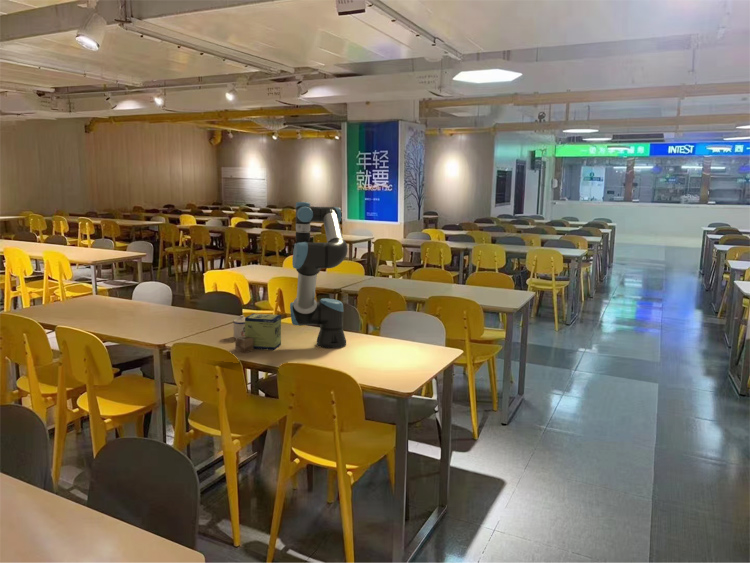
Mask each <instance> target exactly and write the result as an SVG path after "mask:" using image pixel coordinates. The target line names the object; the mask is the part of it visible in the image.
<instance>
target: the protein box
mask: <svg viewBox="0 0 750 563" xmlns="http://www.w3.org/2000/svg"><path fill="white" fill-rule="evenodd" d="M245 337H250V338H253V350H255V349H256V350H264V349H268V351H276V350H277V349H278V348H279V347H280V346H281V345H282V315H281V314H266V313H251V314H250V315H248V316H246V317H245Z"/></svg>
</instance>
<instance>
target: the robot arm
mask: <svg viewBox="0 0 750 563" xmlns="http://www.w3.org/2000/svg"><path fill="white" fill-rule="evenodd" d="M341 221H342V209H341V207H339V206H338V207H337V206H311V203H310V202H307V201H305V202H304V201H297V202H296V203H295V231H296V232H295V243H294V244H292V245H291V247H292V250H293V251H292V267H293V269H295V270H296V272H297V273H298V276H297V287H296V288H297V289H296V297H295V298H294V300H293V302H290V304H289V307H290V308H289V310H290V319H291V324H292V325H293V326H299V327H302V326H319V331H318V332H319V333H318V335H317V337H316V338H317V339H316V346H317V347H319V348H324V349H340V348H343V347H346V346H347V339H346V335H345V333H344V332H345V331H344V312H345V311H344V304H343V302H342V301H340V300H338V299H334V298H321V299H320V300H319V301H317V300H316V298H315V296H316V287H317V277H318V275H319V273H320V272H321V270H322V269H333V268H336V267H338V266H340V264H342V262H343V261H345V258H346V256H347V255H348V244H347V241H346V240H345V239H344V237H343V236H344V235H343V232H342V228H341V225H340V223H341ZM312 222H313V223H315V222H316V223H317V222H318V223H323V226H324V231H325V237H326V242H311V241H310V240H311V223H312Z"/></svg>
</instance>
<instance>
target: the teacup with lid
mask: <svg viewBox="0 0 750 563" xmlns="http://www.w3.org/2000/svg"><path fill="white" fill-rule="evenodd" d="M245 318H246V317H245V316H244V315H243V314H242V315H239V317H237V318H235V319H233V321H232V323H233V338H234V339H237V338H240V337H245Z"/></svg>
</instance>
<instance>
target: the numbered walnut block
mask: <svg viewBox="0 0 750 563" xmlns="http://www.w3.org/2000/svg"><path fill="white" fill-rule="evenodd" d="M234 339H235V341H234V343H235V347H234V348H235V350H234V351H235V352H238V351H239V353H244V354H246V353H249V352H251V350H252V351H253V350H254V349H253V338H250V337H240V338H237V339H236V338H234Z"/></svg>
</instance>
